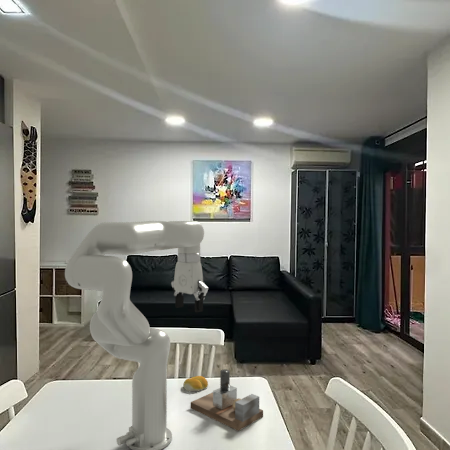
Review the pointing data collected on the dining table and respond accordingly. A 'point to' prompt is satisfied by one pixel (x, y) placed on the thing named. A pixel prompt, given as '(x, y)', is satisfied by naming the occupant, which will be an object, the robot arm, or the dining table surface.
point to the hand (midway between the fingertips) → (188, 309)
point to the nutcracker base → (230, 411)
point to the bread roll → (195, 384)
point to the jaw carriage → (224, 391)
